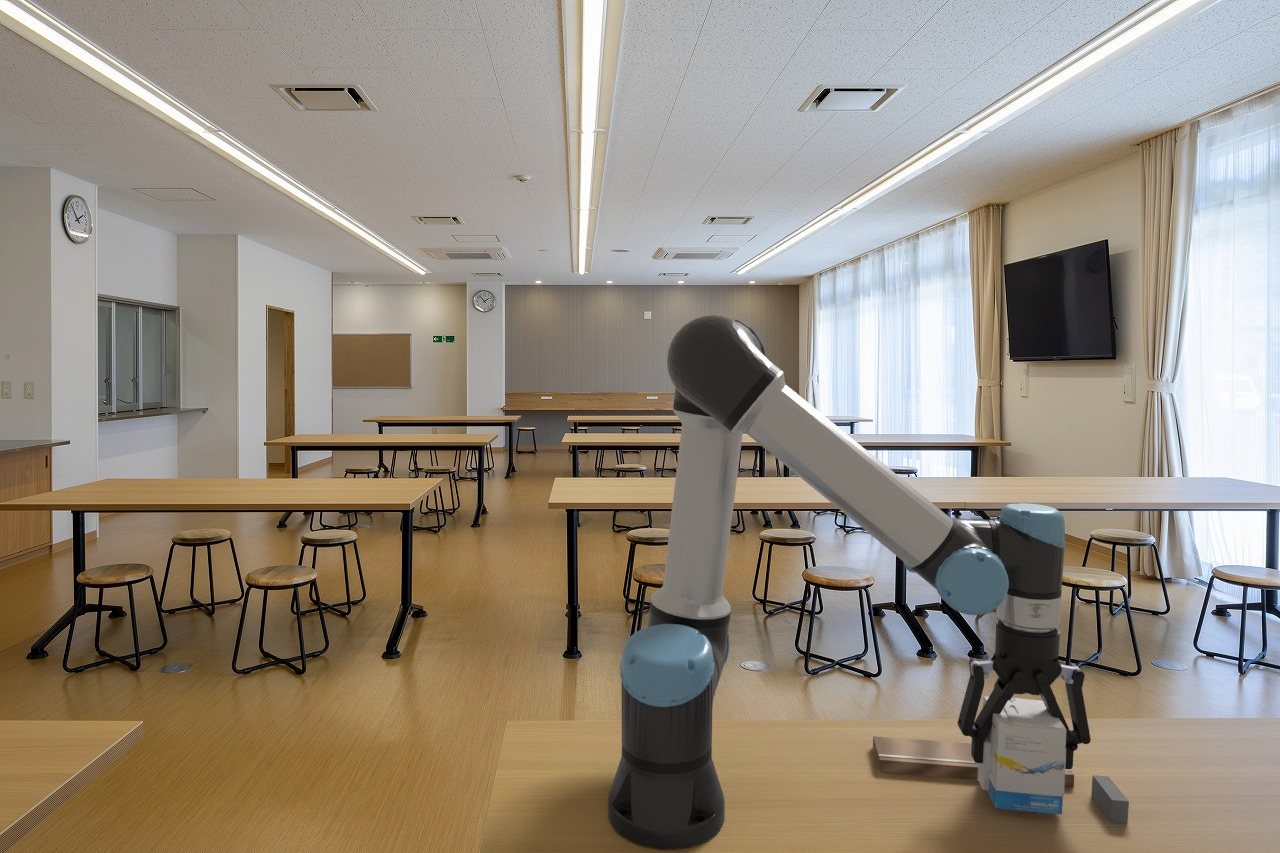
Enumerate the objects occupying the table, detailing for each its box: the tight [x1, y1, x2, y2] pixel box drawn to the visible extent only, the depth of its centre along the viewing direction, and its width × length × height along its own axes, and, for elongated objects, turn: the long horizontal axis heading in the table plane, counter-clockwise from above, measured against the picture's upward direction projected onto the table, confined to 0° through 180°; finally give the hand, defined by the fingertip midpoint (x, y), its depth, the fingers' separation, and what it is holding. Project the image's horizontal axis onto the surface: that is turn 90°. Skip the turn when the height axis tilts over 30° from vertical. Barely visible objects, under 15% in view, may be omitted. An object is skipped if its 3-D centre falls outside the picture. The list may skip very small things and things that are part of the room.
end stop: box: [1091, 774, 1130, 825], centre depth 104 cm, size 2×6×3 cm, turn 171°
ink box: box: [982, 695, 1066, 815], centre depth 105 cm, size 9×8×12 cm
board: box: [872, 735, 1075, 788], centre depth 115 cm, size 26×7×2 cm, turn 81°
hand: (1019, 787), depth 105 cm, fingers closed on ink box, 9 cm apart
